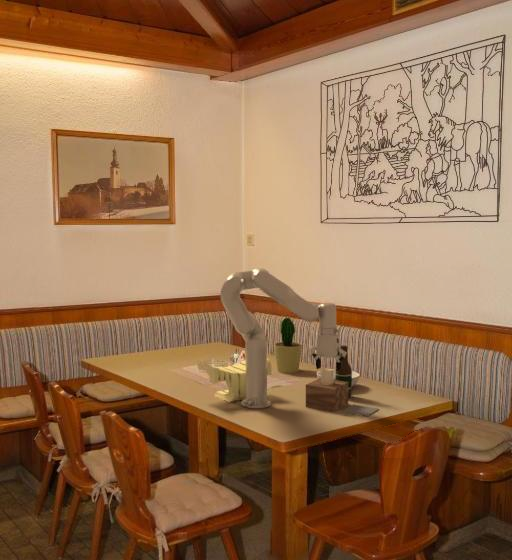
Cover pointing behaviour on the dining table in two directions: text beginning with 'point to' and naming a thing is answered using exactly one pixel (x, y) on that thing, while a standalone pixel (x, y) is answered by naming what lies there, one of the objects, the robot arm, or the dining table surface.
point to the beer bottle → (345, 372)
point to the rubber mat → (360, 410)
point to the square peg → (327, 376)
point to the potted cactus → (287, 349)
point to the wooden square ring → (327, 395)
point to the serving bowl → (354, 376)
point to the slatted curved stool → (230, 379)
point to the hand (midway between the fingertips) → (328, 369)
